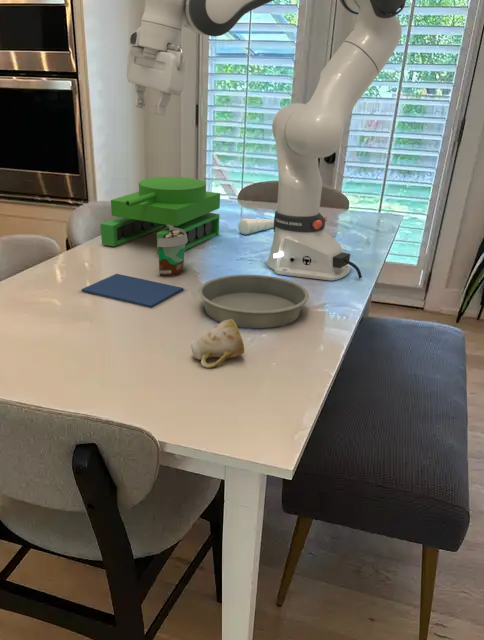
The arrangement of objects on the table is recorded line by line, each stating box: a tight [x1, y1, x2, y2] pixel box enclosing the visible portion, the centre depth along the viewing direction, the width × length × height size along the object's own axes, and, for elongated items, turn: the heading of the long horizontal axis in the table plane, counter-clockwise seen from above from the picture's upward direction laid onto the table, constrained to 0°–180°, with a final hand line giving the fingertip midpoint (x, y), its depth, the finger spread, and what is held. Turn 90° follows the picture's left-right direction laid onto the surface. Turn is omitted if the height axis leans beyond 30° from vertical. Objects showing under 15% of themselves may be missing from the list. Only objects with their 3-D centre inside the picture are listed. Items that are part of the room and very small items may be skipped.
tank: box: [100, 176, 221, 256], centre depth 178 cm, size 24×35×16 cm
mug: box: [190, 319, 245, 369], centre depth 114 cm, size 8×10×10 cm
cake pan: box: [197, 274, 310, 329], centre depth 135 cm, size 25×25×4 cm
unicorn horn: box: [237, 217, 274, 235], centre depth 197 cm, size 5×24×5 cm, turn 130°
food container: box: [158, 226, 188, 278], centre depth 156 cm, size 12×6×10 cm, turn 168°
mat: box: [81, 273, 184, 309], centre depth 145 cm, size 20×14×1 cm
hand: (149, 111), depth 139 cm, fingers open, 8 cm apart
